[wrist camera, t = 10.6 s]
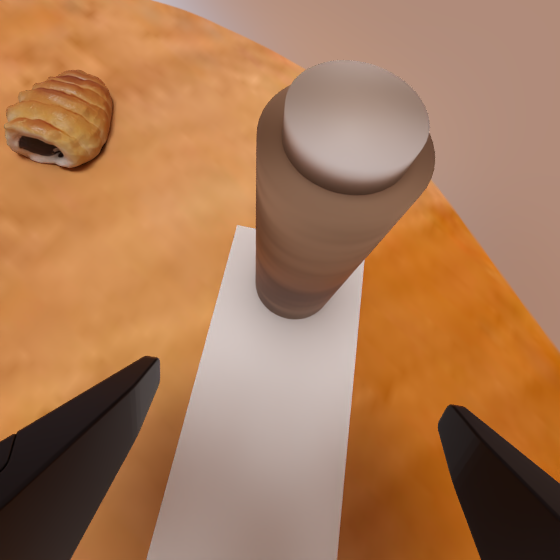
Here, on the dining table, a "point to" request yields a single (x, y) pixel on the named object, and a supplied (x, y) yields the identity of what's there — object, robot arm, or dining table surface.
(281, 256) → the pepper mill
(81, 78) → the pastry
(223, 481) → the grey board
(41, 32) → the dining table surface
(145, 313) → the dining table surface
